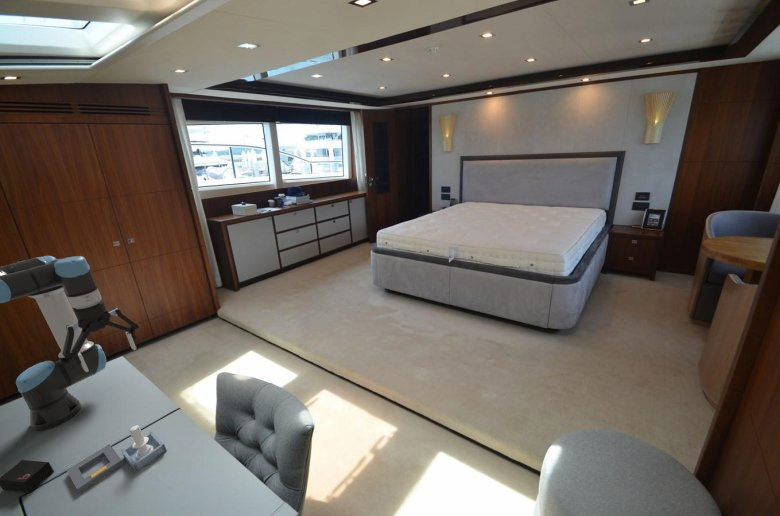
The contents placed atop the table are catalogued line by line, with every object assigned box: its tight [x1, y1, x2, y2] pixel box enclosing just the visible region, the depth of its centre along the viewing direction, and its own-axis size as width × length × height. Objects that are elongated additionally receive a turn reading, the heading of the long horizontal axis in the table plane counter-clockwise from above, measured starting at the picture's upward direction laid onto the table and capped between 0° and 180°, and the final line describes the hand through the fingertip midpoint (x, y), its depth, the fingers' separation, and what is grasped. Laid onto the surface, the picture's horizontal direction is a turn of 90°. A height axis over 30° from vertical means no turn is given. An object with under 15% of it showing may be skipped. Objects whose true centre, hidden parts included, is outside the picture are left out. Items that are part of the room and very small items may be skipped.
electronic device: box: [0, 459, 55, 494], centre depth 112 cm, size 7×11×5 cm
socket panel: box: [66, 444, 124, 494], centre depth 114 cm, size 12×12×2 cm
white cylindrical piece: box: [129, 424, 154, 459], centre depth 117 cm, size 5×5×12 cm
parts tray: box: [121, 431, 167, 473], centre depth 119 cm, size 11×10×3 cm
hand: (111, 359), depth 115 cm, fingers open, 13 cm apart
